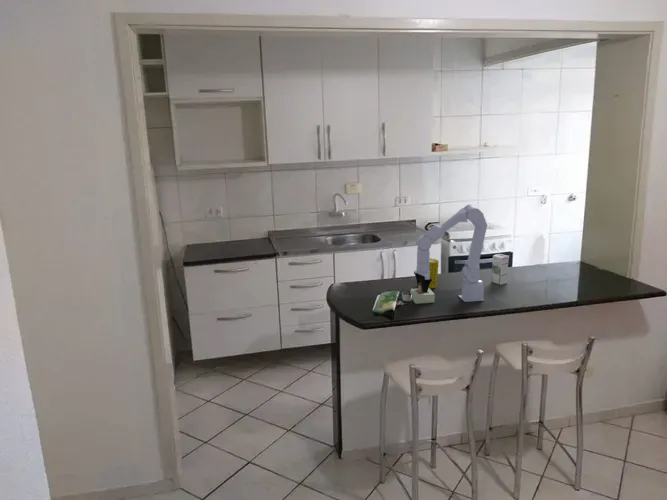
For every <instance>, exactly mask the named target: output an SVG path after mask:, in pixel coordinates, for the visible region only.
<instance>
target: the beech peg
mask: <svg viewBox="0 0 667 500" xmlns="http://www.w3.org/2000/svg"><path fill="white" fill-rule="evenodd" d="M417 287H418V286H417ZM422 293H423V292H422V285H421V282H420V283H419V287H418V294H422Z"/></svg>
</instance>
